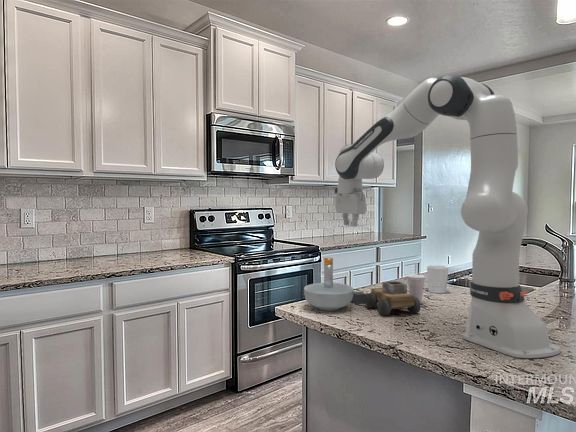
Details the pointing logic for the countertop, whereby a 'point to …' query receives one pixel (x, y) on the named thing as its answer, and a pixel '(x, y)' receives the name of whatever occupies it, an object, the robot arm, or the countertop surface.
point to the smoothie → (416, 284)
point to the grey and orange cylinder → (328, 272)
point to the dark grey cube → (358, 298)
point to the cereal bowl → (328, 296)
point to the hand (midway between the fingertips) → (350, 225)
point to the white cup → (437, 278)
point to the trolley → (392, 298)
